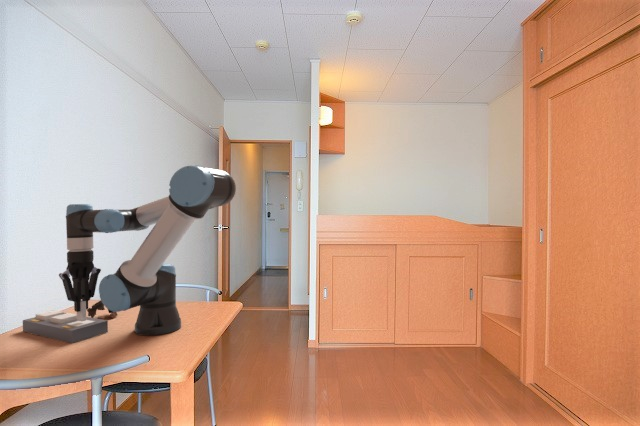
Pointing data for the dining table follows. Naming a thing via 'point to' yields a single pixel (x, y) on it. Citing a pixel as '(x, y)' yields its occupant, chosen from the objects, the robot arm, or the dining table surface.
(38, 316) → the key
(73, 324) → the key
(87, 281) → the robot arm
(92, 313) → the dark brown knobbly arch
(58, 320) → the key middle
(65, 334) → the keypad
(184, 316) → the dining table surface
